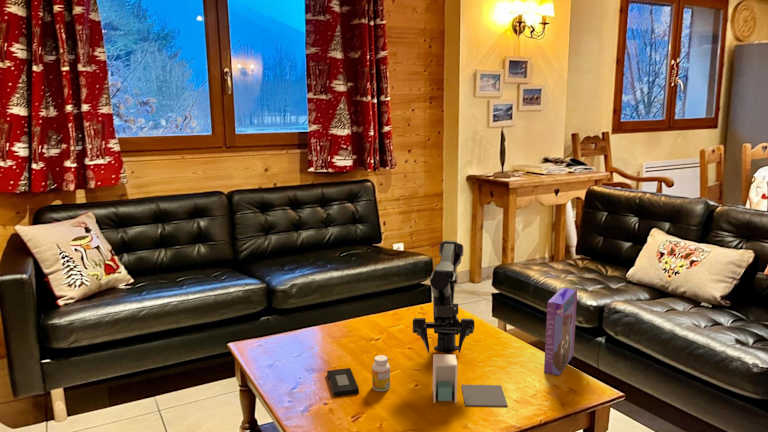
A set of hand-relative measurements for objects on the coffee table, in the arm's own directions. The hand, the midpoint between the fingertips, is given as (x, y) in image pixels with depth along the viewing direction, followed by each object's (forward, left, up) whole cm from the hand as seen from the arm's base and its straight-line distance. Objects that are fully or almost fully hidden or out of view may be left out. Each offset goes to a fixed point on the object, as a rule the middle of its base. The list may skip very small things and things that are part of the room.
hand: (443, 352), depth 176 cm
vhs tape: (+18, -25, -12) cm, 34 cm away
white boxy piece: (+4, +3, -12) cm, 13 cm away
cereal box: (-39, +18, -12) cm, 45 cm away
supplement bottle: (+12, -15, -12) cm, 22 cm away
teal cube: (+4, +3, -12) cm, 13 cm away
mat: (-4, +11, -12) cm, 17 cm away
